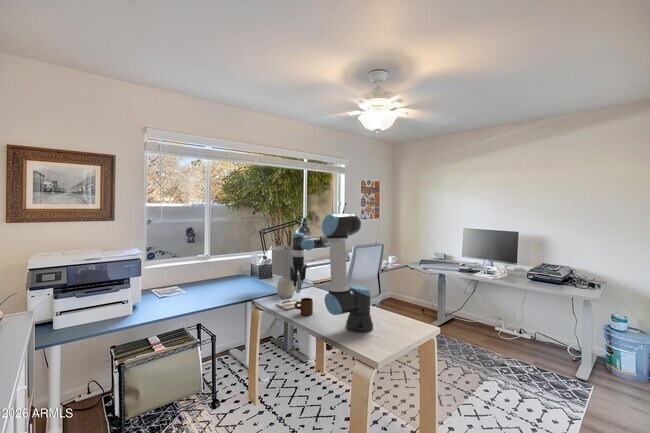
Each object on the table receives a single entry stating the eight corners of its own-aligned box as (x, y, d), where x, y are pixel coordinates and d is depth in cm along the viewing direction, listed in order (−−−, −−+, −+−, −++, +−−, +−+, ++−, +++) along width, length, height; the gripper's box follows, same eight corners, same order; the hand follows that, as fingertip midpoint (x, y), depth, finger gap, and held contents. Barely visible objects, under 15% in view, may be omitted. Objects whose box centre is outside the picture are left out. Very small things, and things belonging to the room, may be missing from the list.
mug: (297, 318, 190) (297, 303, 189) (292, 314, 196) (292, 299, 196) (314, 315, 196) (314, 300, 195) (309, 311, 202) (309, 296, 202)
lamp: (301, 292, 241) (301, 245, 239) (296, 301, 221) (296, 249, 219) (276, 292, 243) (275, 244, 241) (268, 300, 223) (268, 249, 221)
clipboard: (306, 305, 213) (306, 303, 212) (285, 311, 202) (285, 308, 202) (295, 300, 223) (295, 298, 222) (275, 305, 212) (275, 303, 212)
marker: (298, 291, 215) (298, 274, 214) (301, 292, 212) (301, 275, 211) (294, 292, 213) (295, 274, 212) (297, 293, 210) (297, 275, 210)
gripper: (304, 253, 219) (304, 286, 220) (285, 256, 209) (285, 291, 210) (311, 255, 213) (310, 289, 214) (291, 258, 203) (291, 293, 204)
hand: (298, 290), depth 212 cm, fingers closed on marker, 3 cm apart
